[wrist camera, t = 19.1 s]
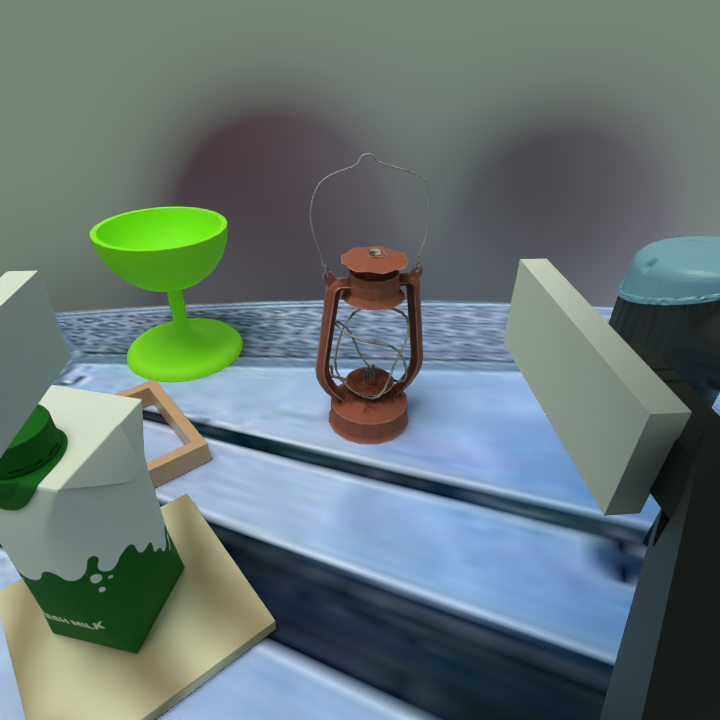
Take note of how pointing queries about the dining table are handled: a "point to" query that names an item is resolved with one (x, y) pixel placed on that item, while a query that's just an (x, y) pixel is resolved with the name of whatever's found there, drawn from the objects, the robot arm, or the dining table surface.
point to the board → (159, 650)
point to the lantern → (370, 384)
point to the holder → (194, 443)
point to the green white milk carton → (87, 518)
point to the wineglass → (170, 287)
